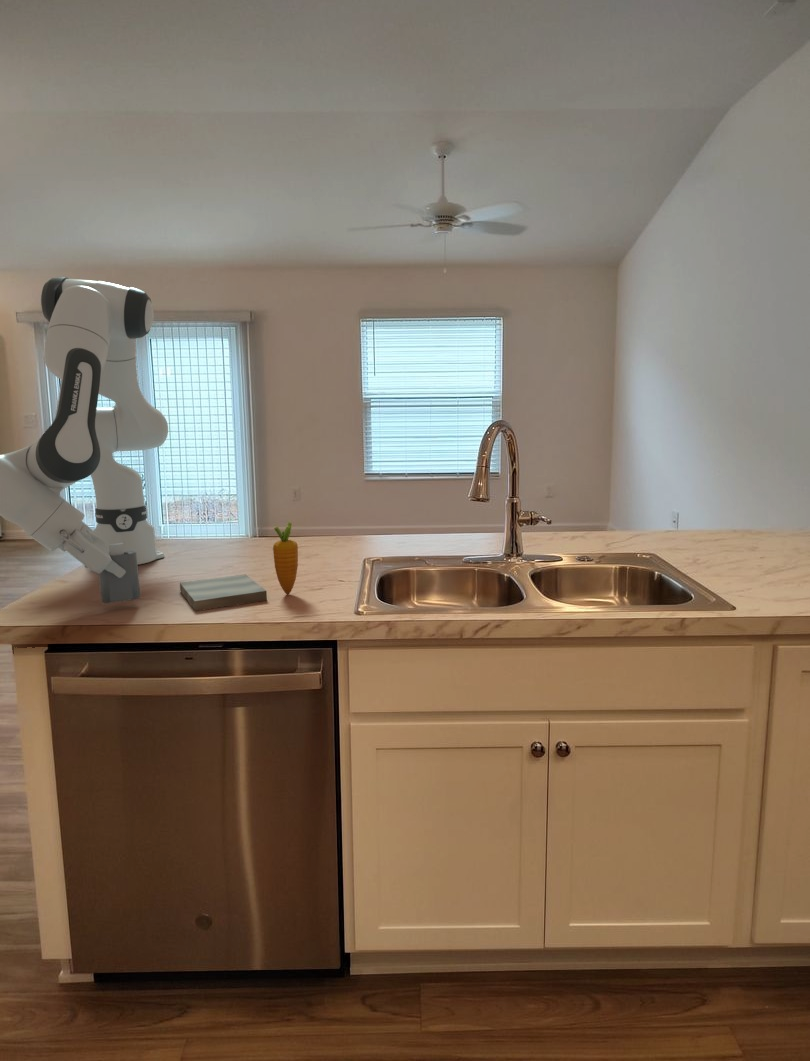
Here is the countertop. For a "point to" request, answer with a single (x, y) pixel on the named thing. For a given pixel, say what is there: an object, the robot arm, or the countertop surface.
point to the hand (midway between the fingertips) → (122, 571)
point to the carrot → (285, 559)
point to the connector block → (128, 583)
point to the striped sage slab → (222, 592)
